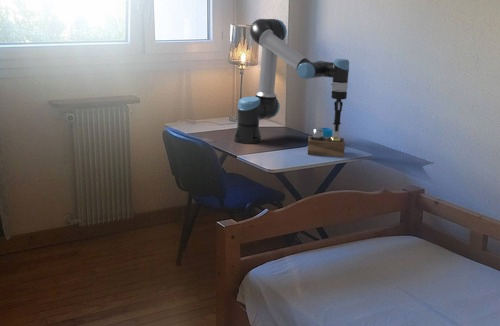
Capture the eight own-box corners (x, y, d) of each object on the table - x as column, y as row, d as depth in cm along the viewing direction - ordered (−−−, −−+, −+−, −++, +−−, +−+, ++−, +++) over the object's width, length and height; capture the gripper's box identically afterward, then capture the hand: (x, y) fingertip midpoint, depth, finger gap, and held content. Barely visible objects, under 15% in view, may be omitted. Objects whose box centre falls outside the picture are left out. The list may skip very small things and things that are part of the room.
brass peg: (329, 148, 293) (330, 136, 291) (339, 149, 293) (340, 136, 291) (329, 151, 288) (330, 138, 287) (339, 151, 288) (340, 138, 286)
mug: (313, 143, 311) (314, 128, 309) (323, 141, 317) (324, 127, 314) (330, 147, 303) (331, 132, 301) (339, 145, 308) (341, 131, 306)
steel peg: (312, 140, 293) (313, 128, 291) (322, 141, 293) (323, 128, 291) (312, 143, 288) (313, 130, 286) (322, 143, 288) (323, 130, 286)
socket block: (307, 148, 298) (308, 135, 296) (342, 151, 296) (343, 137, 294) (307, 154, 286) (308, 140, 285) (343, 156, 285) (344, 142, 283)
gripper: (331, 88, 289) (328, 133, 295) (332, 92, 277) (328, 139, 283) (346, 89, 288) (342, 134, 295) (347, 92, 276) (343, 140, 282)
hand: (335, 136), depth 289 cm, fingers closed
